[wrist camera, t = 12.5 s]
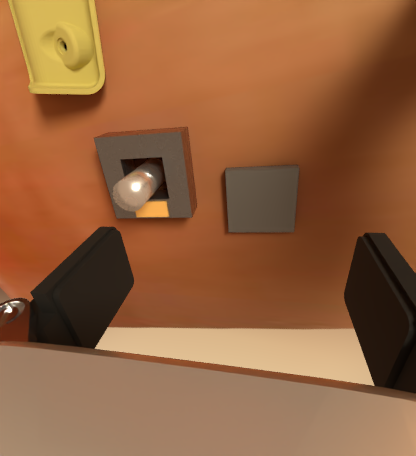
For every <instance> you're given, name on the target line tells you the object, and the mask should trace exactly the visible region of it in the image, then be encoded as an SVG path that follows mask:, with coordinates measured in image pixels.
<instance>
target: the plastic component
mask: <svg viewBox="0 0 416 456" xmlns="http://www.w3.org/2000/svg"><path fill="white" fill-rule="evenodd" d="M8 2H9V5H10V9H11V12H12V16H13V19H14V23H15V26H16V30H17V33H18V37H19V40H20V44H21V47H22V51H23V54H24V58H25V61H26V65H27V68H28V72H29V77H30V84H29V86H28V88H29V91H30V93H36V94H94V93H95V92H97V91H99V90H100V89H101V87H102V86H103V84H104V80H105V67H104V60H103V53H102V47H101V40H100V33H99V26H98V19H97V12H96V5H95V0H8ZM64 43H65V44H66V46H67V51H66V49H65V47H64Z"/></svg>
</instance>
